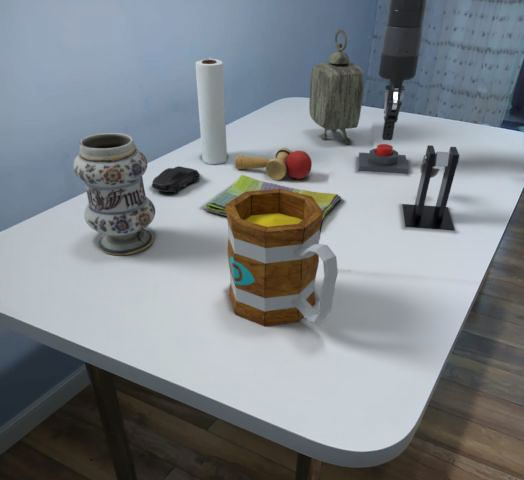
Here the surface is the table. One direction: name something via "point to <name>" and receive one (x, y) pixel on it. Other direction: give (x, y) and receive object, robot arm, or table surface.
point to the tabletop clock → (336, 92)
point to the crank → (439, 162)
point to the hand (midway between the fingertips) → (387, 138)
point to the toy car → (175, 179)
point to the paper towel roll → (211, 110)
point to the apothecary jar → (115, 192)
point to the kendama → (279, 164)
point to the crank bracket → (440, 213)
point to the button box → (382, 162)
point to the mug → (277, 257)
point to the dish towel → (250, 184)
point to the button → (384, 150)
